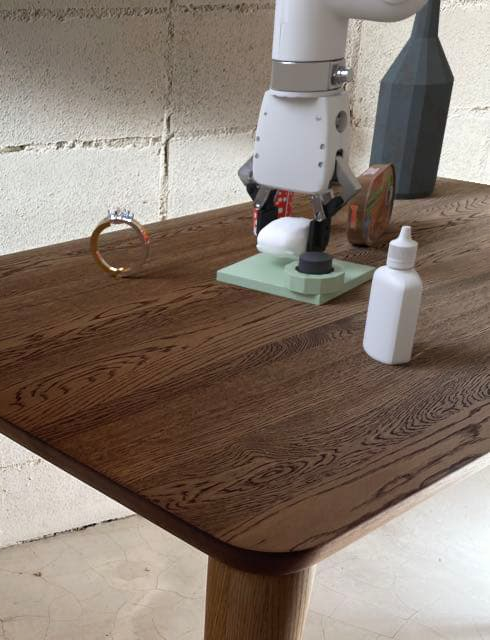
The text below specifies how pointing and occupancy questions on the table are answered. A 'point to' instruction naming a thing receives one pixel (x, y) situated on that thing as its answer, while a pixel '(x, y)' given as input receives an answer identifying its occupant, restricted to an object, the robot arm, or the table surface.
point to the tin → (371, 205)
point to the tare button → (315, 263)
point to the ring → (119, 218)
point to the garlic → (284, 237)
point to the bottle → (414, 108)
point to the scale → (295, 278)
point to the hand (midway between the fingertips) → (290, 246)
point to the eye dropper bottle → (394, 304)
